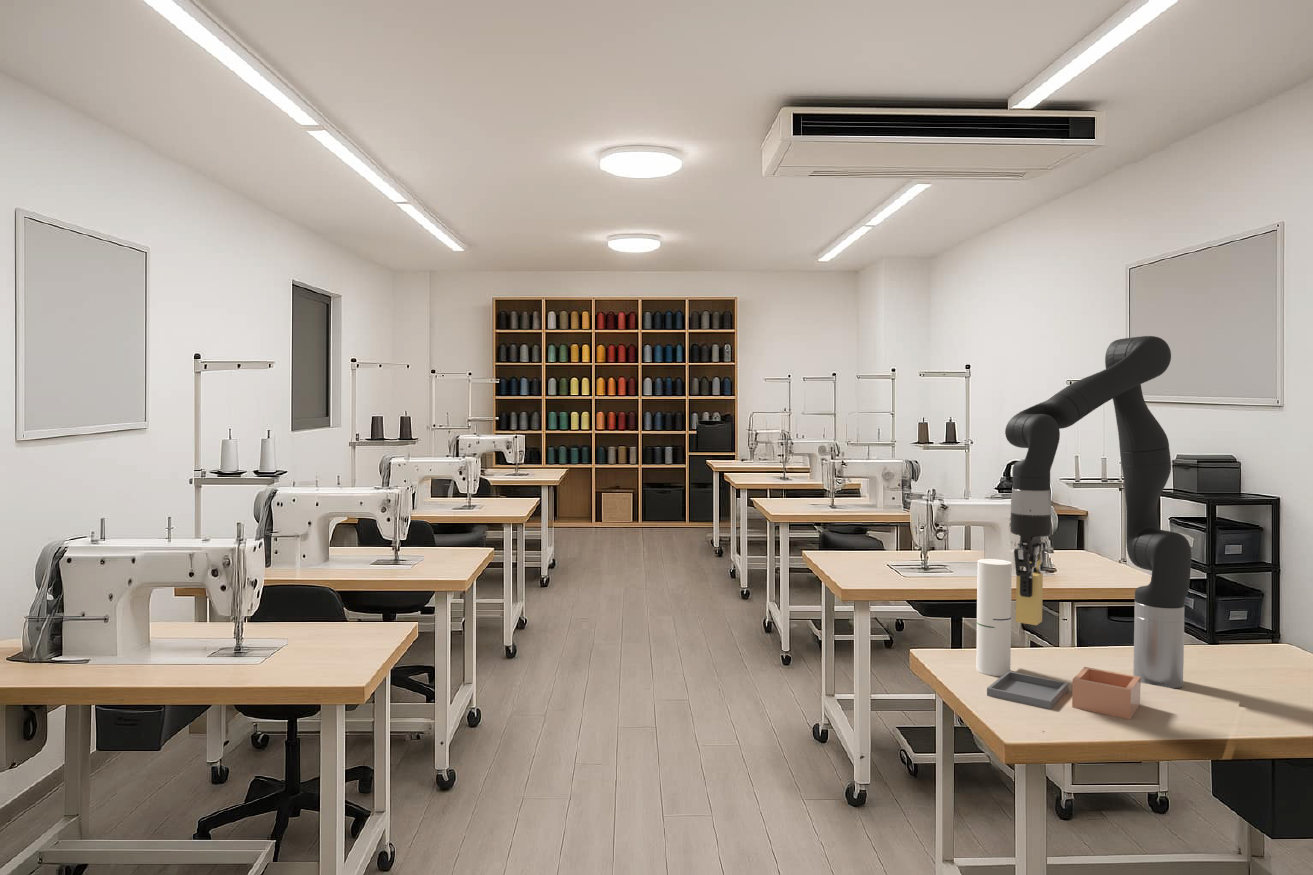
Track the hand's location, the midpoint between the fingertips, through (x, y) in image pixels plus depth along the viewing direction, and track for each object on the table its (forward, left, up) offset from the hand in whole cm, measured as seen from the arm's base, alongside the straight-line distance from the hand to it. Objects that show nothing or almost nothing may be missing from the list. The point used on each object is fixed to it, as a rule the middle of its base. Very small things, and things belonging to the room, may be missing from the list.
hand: (1029, 594), depth 166 cm
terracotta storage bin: (-2, +14, -21) cm, 26 cm away
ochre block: (0, 0, -6) cm, 6 cm away
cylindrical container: (-13, -11, -22) cm, 28 cm away
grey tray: (0, 0, -21) cm, 21 cm away
